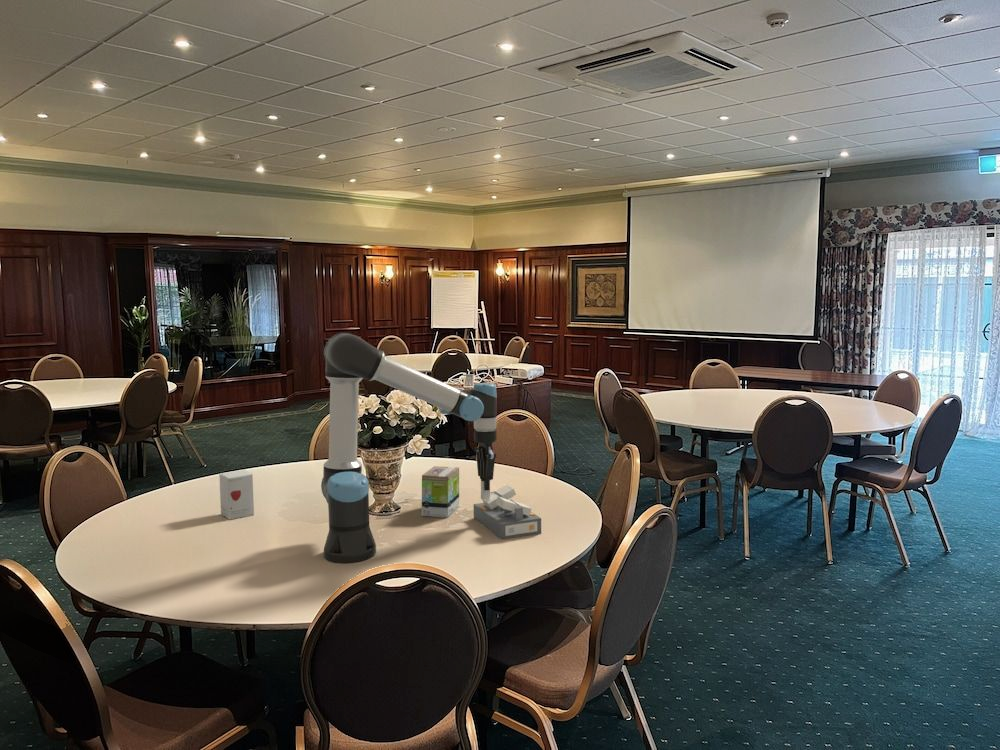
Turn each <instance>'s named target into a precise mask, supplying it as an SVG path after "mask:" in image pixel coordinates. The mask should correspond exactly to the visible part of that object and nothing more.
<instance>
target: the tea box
mask: <svg viewBox="0 0 1000 750" xmlns="http://www.w3.org/2000/svg"><path fill="white" fill-rule="evenodd" d="M459 506H460V467H457V466H456V467H455V466H438V465H437V466H436V465H435V466H433V467H432V468H430V469H428V470H427V471H425V472H424V473H423V474H422V475H421V516H422V517H431V518H448V517H450V515H452V513H453V512H455V510H457V508H458V507H459Z"/></svg>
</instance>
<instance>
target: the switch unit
mask: <svg viewBox="0 0 1000 750" xmlns="http://www.w3.org/2000/svg"><path fill="white" fill-rule="evenodd" d="M493 492H494V491H490V494H491V493H493ZM505 499H508V498H505ZM508 500H512V501H514V500H513V499H512V498H510V499H508ZM473 519H474V520H475V521H477V522H478V523H479V524H481V525H482V526H483V527H484V528H485V529H487V530H488V531H490V532H491V533H492V534H493V535H494V536H496V537H497V538H499V540H507V539H508V540H509V539H515V538H520V537H527V536H533V535H534V536H535V535H540V534H542V518H541V517H540V516H538V515H537V514H536V513H534V512H533V511H531V513H530V515H529V516H528V515H524V514H523V507H519V508H515V512H513V511H510V510H506V509H503V508H501V507H500V506H497V507H495V508H494V509H492V510H491V509H489V508H488V507H487V506H485V505H484V503H483V502H480V503H479V502H478V503H473Z"/></svg>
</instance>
